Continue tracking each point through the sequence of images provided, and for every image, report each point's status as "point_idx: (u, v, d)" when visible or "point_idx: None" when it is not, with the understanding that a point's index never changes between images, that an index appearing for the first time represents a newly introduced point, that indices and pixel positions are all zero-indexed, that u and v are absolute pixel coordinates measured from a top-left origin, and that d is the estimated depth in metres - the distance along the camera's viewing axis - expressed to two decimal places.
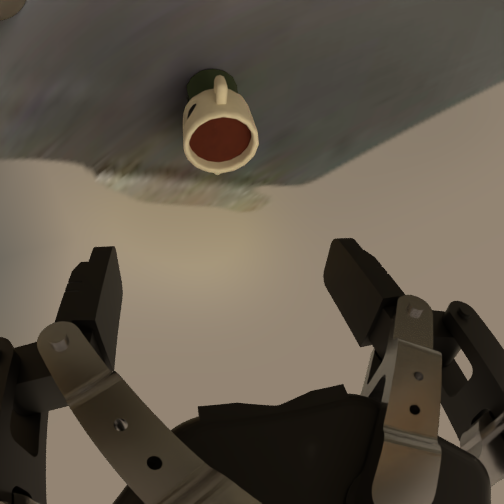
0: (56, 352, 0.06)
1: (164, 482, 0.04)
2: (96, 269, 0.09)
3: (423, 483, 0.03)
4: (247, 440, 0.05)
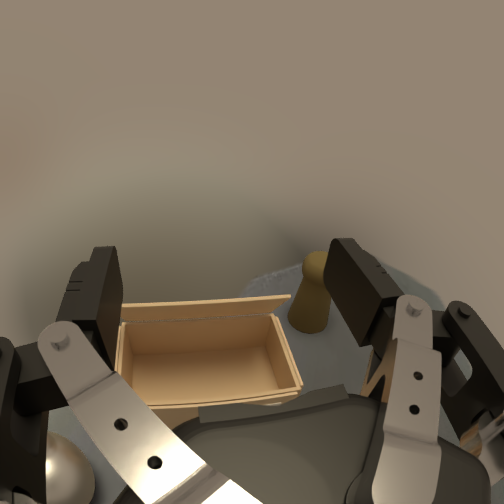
0: (57, 352, 0.06)
1: (164, 482, 0.04)
2: (96, 269, 0.09)
3: (423, 483, 0.03)
4: (247, 440, 0.05)
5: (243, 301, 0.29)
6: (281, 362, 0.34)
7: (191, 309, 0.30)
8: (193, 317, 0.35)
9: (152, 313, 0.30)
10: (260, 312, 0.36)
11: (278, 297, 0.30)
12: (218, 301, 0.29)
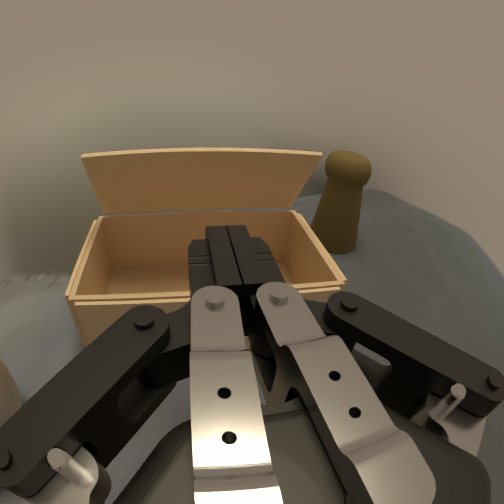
0: (219, 312, 0.08)
1: (224, 457, 0.04)
2: (220, 244, 0.10)
3: (423, 483, 0.03)
4: None
5: (260, 154, 0.21)
6: (309, 263, 0.26)
7: (190, 172, 0.22)
8: (191, 205, 0.27)
9: (137, 183, 0.22)
10: (278, 203, 0.28)
11: (306, 153, 0.22)
12: (227, 149, 0.21)
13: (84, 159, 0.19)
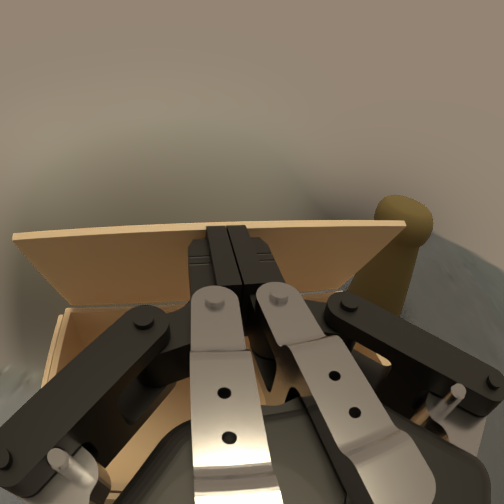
0: (219, 312, 0.08)
1: (224, 457, 0.04)
2: (220, 243, 0.10)
3: (423, 483, 0.03)
4: None
5: (319, 229, 0.13)
6: None
7: None
8: None
9: (112, 274, 0.14)
10: (324, 286, 0.19)
11: (386, 224, 0.13)
12: (264, 224, 0.12)
13: (18, 242, 0.10)
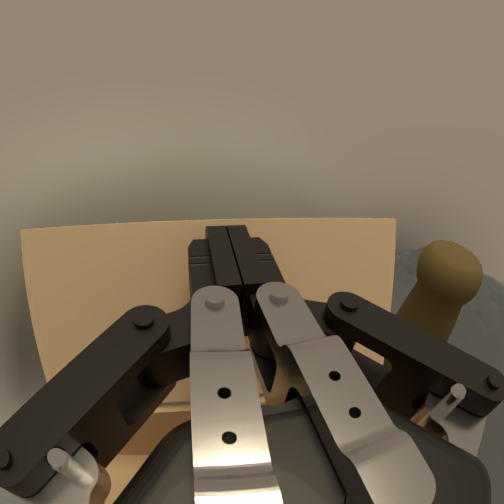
0: (219, 312, 0.08)
1: (224, 458, 0.04)
2: (220, 244, 0.10)
3: (423, 483, 0.03)
4: None
5: (312, 224, 0.13)
6: None
7: None
8: None
9: (106, 315, 0.12)
10: None
11: (375, 218, 0.14)
12: None
13: (24, 235, 0.10)
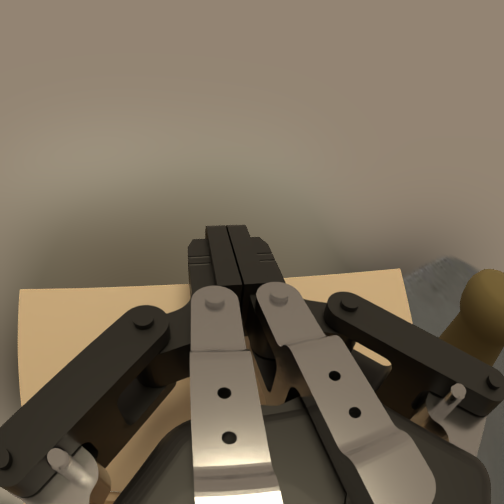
0: (219, 312, 0.08)
1: (224, 457, 0.04)
2: (220, 244, 0.10)
3: (423, 483, 0.03)
4: None
5: (316, 281, 0.13)
6: None
7: None
8: None
9: None
10: None
11: (379, 271, 0.14)
12: None
13: (23, 294, 0.10)
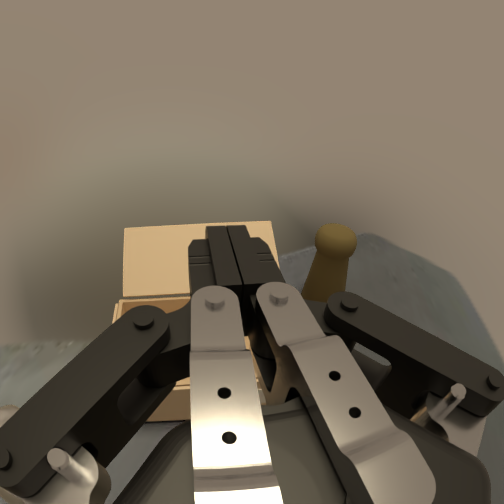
0: (219, 312, 0.08)
1: (224, 457, 0.04)
2: (220, 243, 0.10)
3: (423, 483, 0.03)
4: None
5: (232, 224, 0.36)
6: None
7: None
8: None
9: (155, 256, 0.33)
10: None
11: (260, 221, 0.37)
12: (211, 223, 0.36)
13: (126, 229, 0.34)
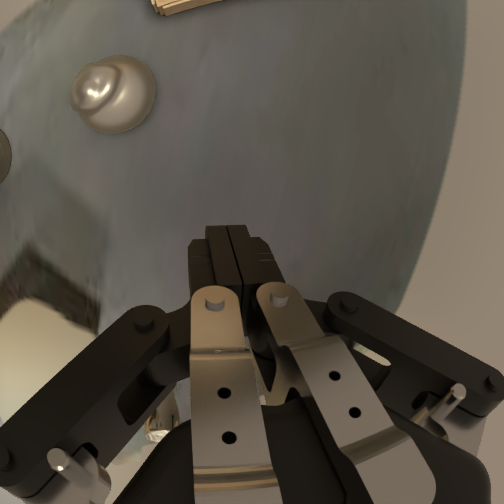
0: (219, 312, 0.08)
1: (224, 458, 0.04)
2: (220, 244, 0.10)
3: (423, 483, 0.03)
4: None
5: None
6: None
7: None
8: None
9: None
10: None
11: None
12: None
13: None
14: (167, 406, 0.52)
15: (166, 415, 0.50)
